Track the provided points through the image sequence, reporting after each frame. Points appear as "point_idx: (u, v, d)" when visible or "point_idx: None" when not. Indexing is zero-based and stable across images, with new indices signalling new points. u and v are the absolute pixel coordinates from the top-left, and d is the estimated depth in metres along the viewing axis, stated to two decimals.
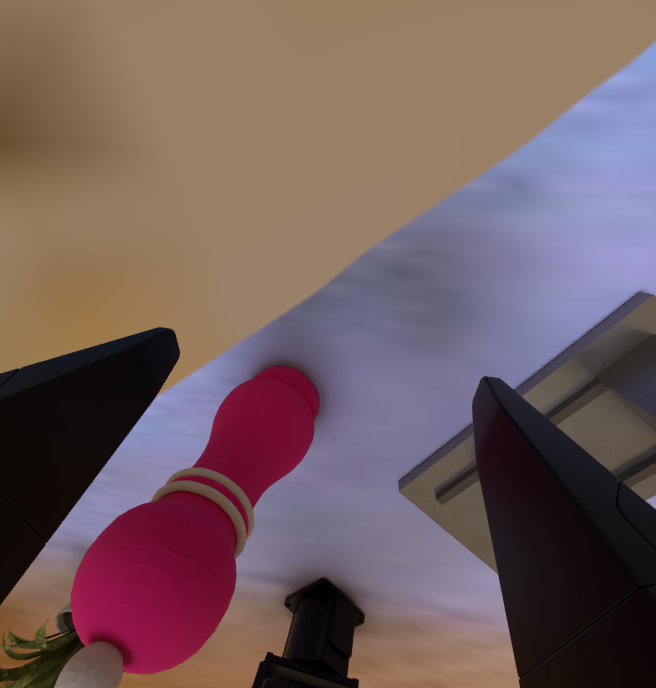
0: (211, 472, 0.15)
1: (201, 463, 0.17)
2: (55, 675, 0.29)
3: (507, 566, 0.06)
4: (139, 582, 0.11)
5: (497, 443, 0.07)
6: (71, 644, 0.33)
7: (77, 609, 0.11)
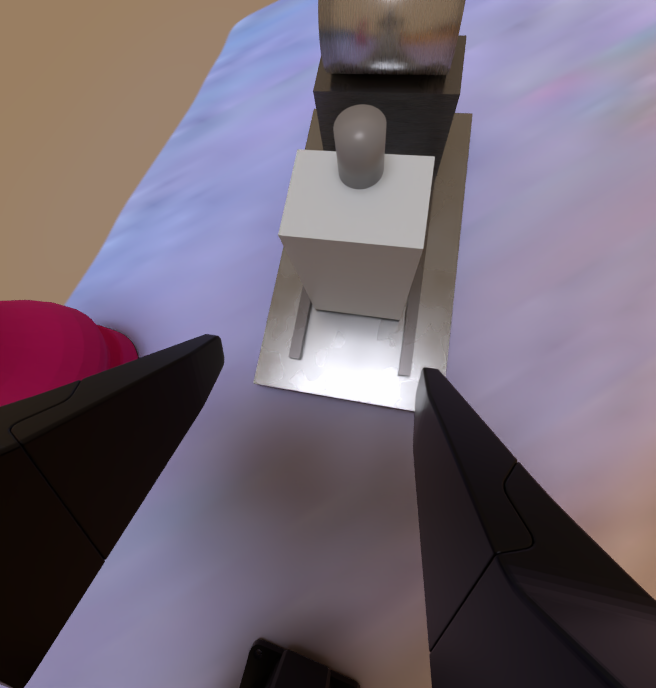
0: None
1: None
2: None
3: (426, 547, 0.06)
4: None
5: (425, 430, 0.07)
6: None
7: None
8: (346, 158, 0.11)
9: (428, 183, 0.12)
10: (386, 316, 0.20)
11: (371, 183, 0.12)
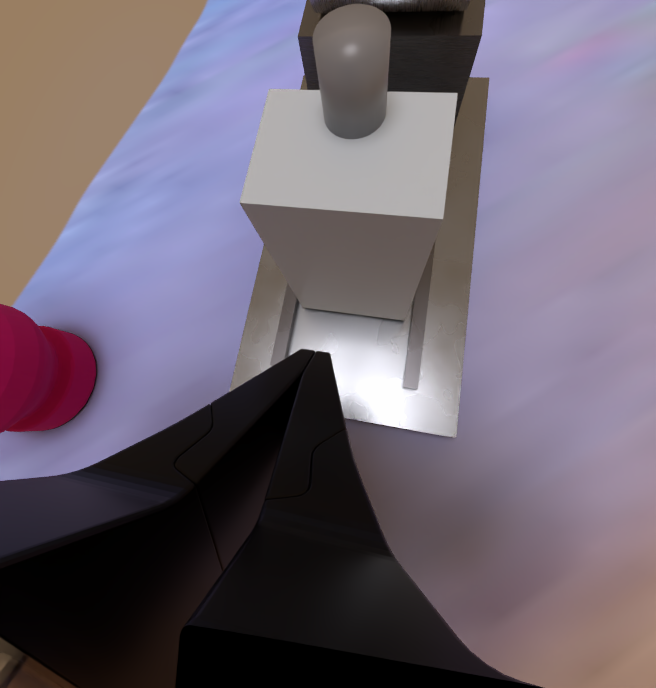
0: None
1: None
2: None
3: None
4: None
5: None
6: None
7: None
8: (332, 85, 0.08)
9: (449, 129, 0.09)
10: (388, 316, 0.17)
11: (369, 129, 0.09)
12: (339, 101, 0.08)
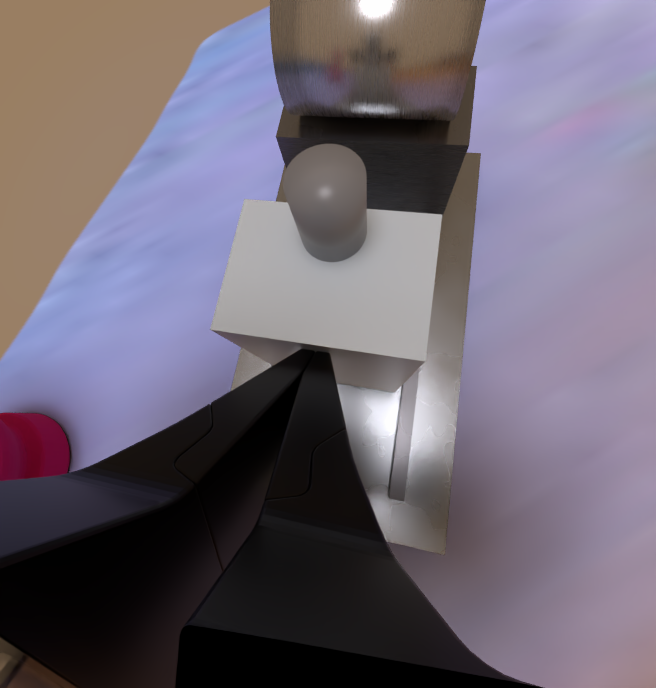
0: None
1: None
2: None
3: None
4: None
5: None
6: None
7: None
8: (305, 226, 0.07)
9: (432, 256, 0.08)
10: (377, 389, 0.16)
11: (348, 255, 0.08)
12: (314, 237, 0.08)
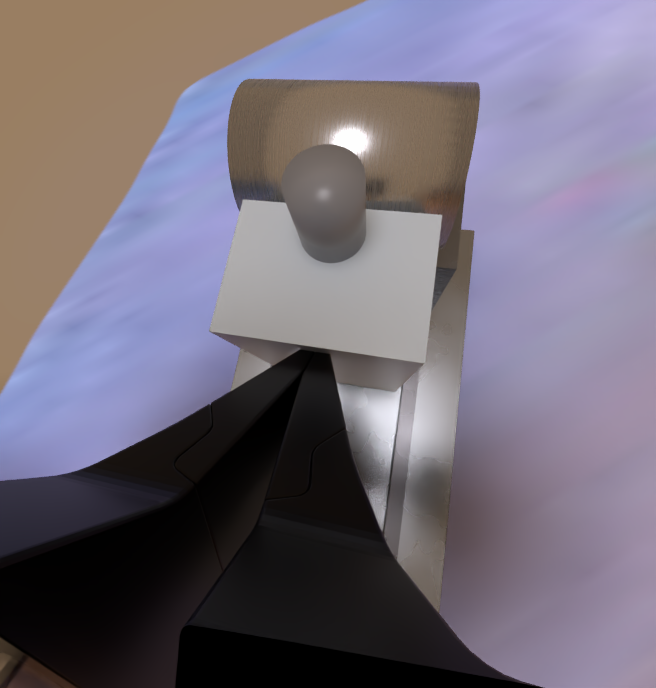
0: None
1: None
2: None
3: None
4: None
5: None
6: None
7: None
8: (304, 227, 0.07)
9: (432, 257, 0.08)
10: (377, 388, 0.16)
11: (347, 256, 0.08)
12: (312, 238, 0.08)
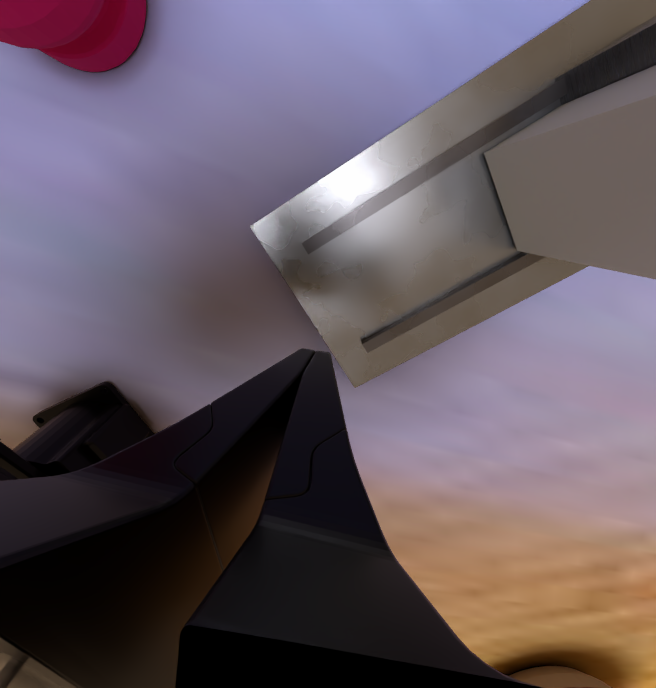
0: None
1: None
2: None
3: None
4: None
5: None
6: None
7: None
8: None
9: None
10: (516, 237, 0.18)
11: None
12: None
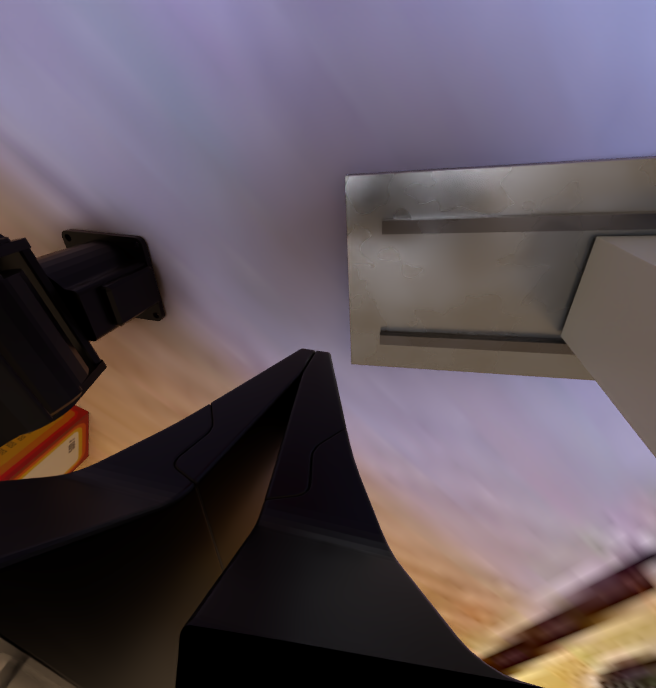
0: None
1: None
2: None
3: None
4: None
5: None
6: None
7: None
8: None
9: None
10: (568, 325, 0.18)
11: None
12: None
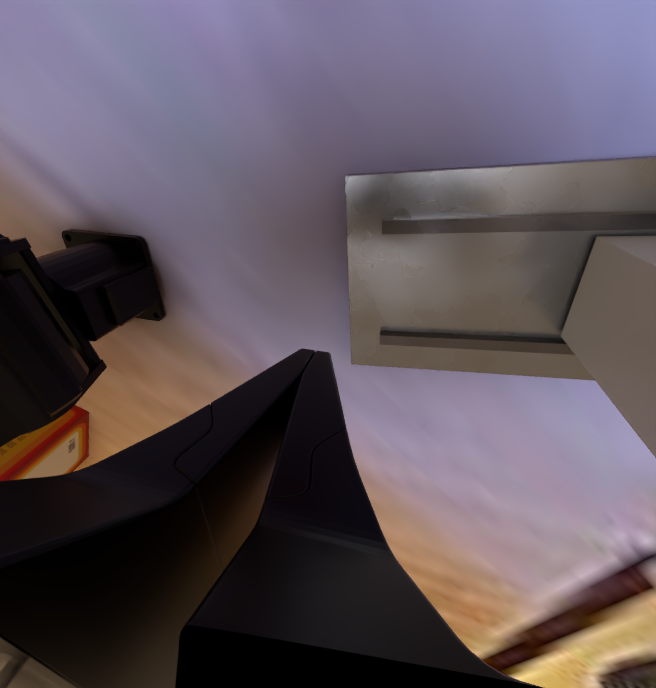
0: None
1: None
2: None
3: None
4: None
5: None
6: None
7: None
8: None
9: None
10: (568, 325, 0.18)
11: None
12: None
